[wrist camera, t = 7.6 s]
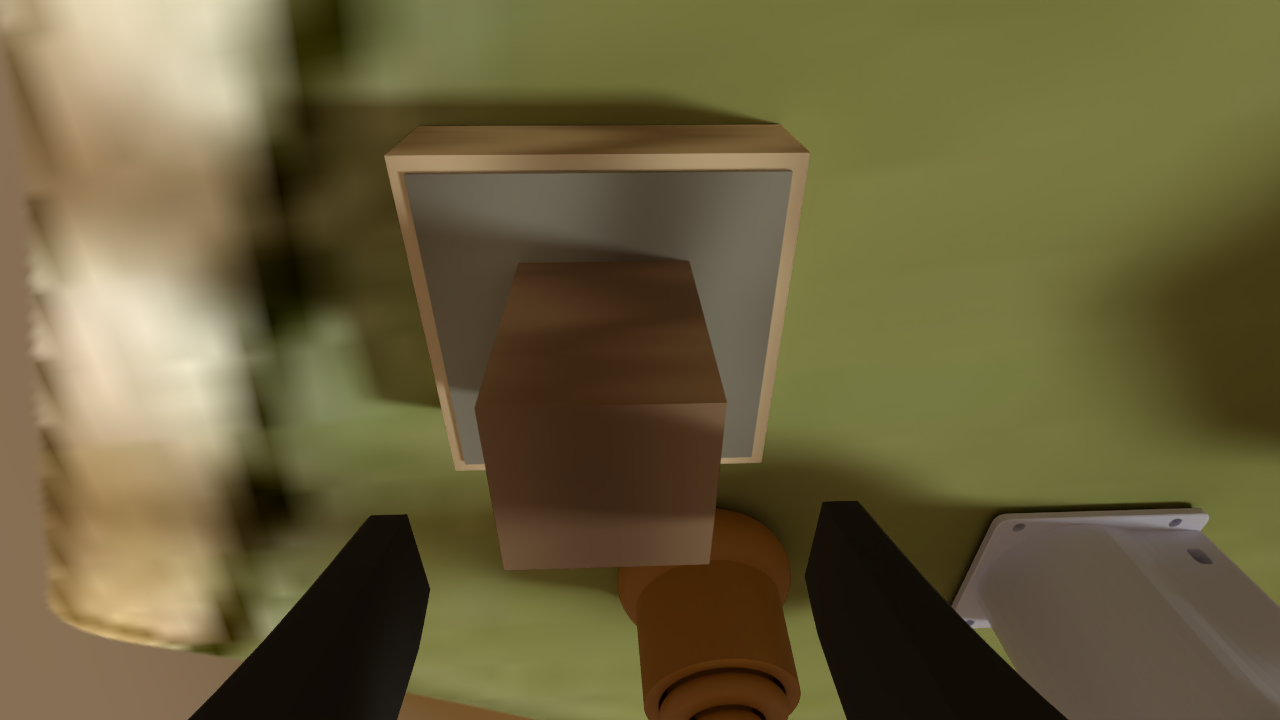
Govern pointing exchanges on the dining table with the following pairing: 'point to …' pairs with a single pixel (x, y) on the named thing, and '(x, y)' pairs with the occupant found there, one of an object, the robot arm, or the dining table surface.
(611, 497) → the walnut block
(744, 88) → the dining table surface
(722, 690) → the ornamental finial
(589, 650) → the dining table surface
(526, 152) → the wooden framed grey panel
